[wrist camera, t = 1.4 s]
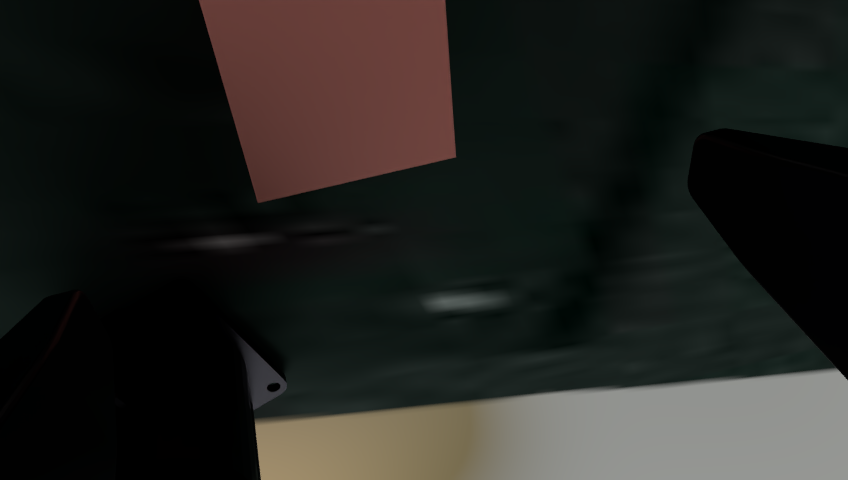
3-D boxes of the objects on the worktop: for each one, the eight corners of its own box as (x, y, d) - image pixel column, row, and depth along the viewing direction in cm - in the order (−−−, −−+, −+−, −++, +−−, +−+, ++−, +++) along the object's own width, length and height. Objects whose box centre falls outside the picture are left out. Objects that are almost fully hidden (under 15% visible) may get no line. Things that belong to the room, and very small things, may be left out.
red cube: (382, -87, 17) (441, -58, 13) (402, 88, 20) (455, 157, 16) (192, -59, 16) (193, -18, 12) (243, 121, 19) (257, 203, 15)
